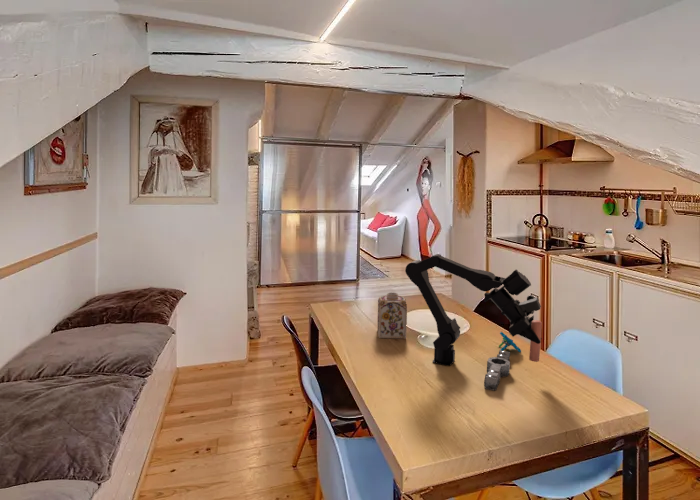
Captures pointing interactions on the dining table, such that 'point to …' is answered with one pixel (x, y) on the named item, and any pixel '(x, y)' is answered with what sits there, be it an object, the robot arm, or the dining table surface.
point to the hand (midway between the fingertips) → (540, 341)
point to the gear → (508, 343)
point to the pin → (534, 346)
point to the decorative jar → (392, 316)
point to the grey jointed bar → (497, 370)
